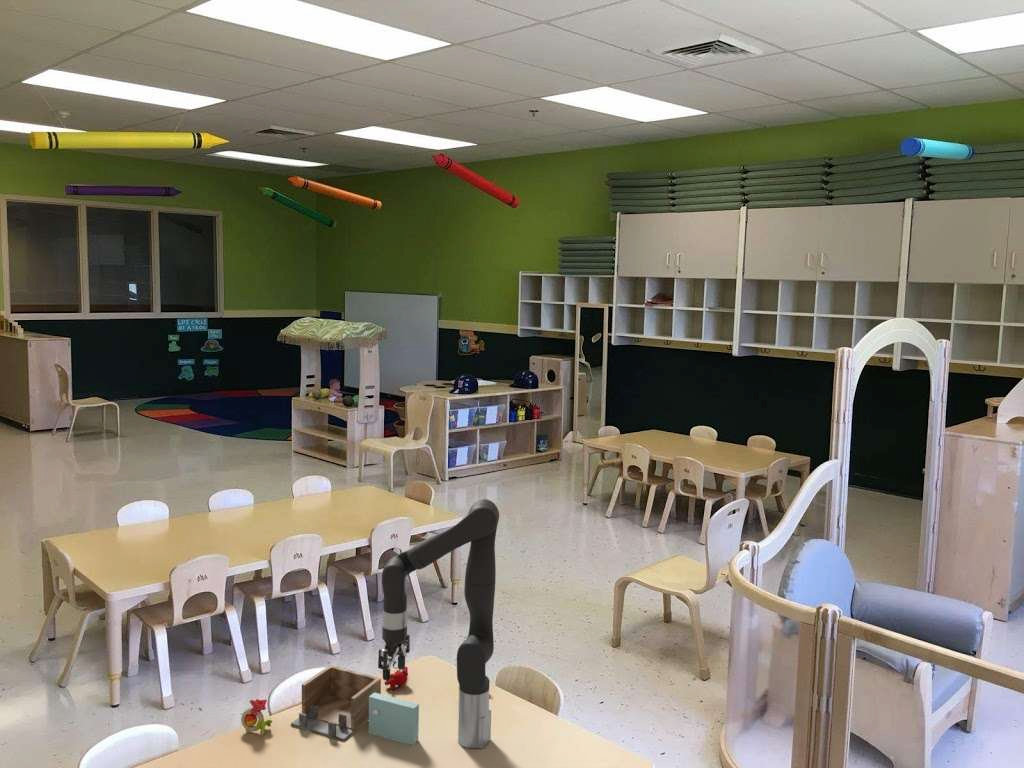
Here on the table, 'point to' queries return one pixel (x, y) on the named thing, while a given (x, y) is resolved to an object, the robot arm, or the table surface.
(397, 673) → the figurine
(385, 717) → the door
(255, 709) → the bird rattle
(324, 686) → the cabinet
